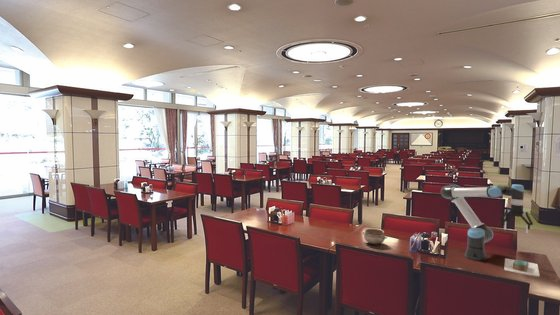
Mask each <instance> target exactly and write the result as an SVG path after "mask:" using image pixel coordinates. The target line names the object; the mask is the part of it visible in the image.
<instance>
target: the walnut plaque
mask: <svg viewBox="0 0 560 315" xmlns="http://www.w3.org/2000/svg"><path fill="white" fill-rule="evenodd" d="M514 260H515V261H514V263H513V269H515V270H519V271H524V272H527V270H528V263H530V262H529V261H525V260H520V259H517V258H516V259H514Z"/></svg>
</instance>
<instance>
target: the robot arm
mask: <svg viewBox="0 0 560 315" xmlns="http://www.w3.org/2000/svg"><path fill="white" fill-rule="evenodd" d="M524 194H525V187H524V185H522V184H511V186H508V185H500V184H499V185H498V184H497V185H494V186H486V187H485V186H483V187H478V186H477V187H461V186H460V185H457V184H450V185H449V184H448V185H445V186H443V187H441V189H440V195H441V197H443V198H444V199H447V200H450V202H451V203H454V204H455V206H456V207H457V208H458V210H459V212H460V213H461V215H462V216H463V217H464V219H465V220H466V221H467V223H468V224H469V226H470V228H469V229H468V230H467V247H466V249H465V252H464V257H465V258H467V259H469V260H473V261H477V262H478V261H479V262H480V261H482V262H485V261H486V260H487V257H488V256H487V254H486V250H485V243H488V242H490V241H492V239H493V237H494V232H493V229H491V228H490V227H488V226H487V225H486V224H485V222H481V220H480V219H479V217H478V216H477V215H476V213H475V211H473V209H472V208H471V206H470V205H469V204H468V202H467V201H466V199H465V198H469V197H470V198H473V197H474V198H475V197H476V198H478V197H479V198H481V197H482V198H483V197H484V198H486V197H489V198H490V197H491V198H499V197H502V196H505V197H511V198H510V203H511V205H510V209H505V212H504V213H503V215H502V216H501V218H500V219H499V220H500V221H502V225H503V226H504V229H503V230H504V231H506V230H507V220H508V219H510V218H511V217H512V216H513V217H519V218H521V219H522V220H523V221H524V222H525V223H526V226H525V227H526V228H525V234H528V233H529V230H530V228H531V226H533V225H534V222H533V221H532V219H531V217H530V216H529V211H524V196H525V195H524ZM509 212H510V215H508V216H507V217H506V215H507V214H508V213H509ZM524 215H525V216H526V218H525V216H524Z"/></svg>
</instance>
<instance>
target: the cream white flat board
mask: <svg viewBox="0 0 560 315" xmlns="http://www.w3.org/2000/svg"><path fill="white" fill-rule="evenodd" d="M514 261H515V259H511V258H504V266H503V268H504V270H503V271H506V272H512V273H516V274H521V275H525V276H526V275H527V276H532V277H537V278H540V277H541V276H540V271H539V270H540V269H539V266H538V263H534V262H529V263H528V270H527V272H524V271H519V270H515V269H513V263H514Z"/></svg>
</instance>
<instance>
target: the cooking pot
mask: <svg viewBox="0 0 560 315" xmlns="http://www.w3.org/2000/svg"><path fill="white" fill-rule="evenodd" d="M361 234H362V235H363V238H364V240H365V241H366V242H367V243H369V244H370V245H373V246H378V245H380V244H382V243H384V241H385V239H388V237H387V236H386V235H385V231H384V230H382V229H380V228H366V229H364V231H362V232H361Z"/></svg>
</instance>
